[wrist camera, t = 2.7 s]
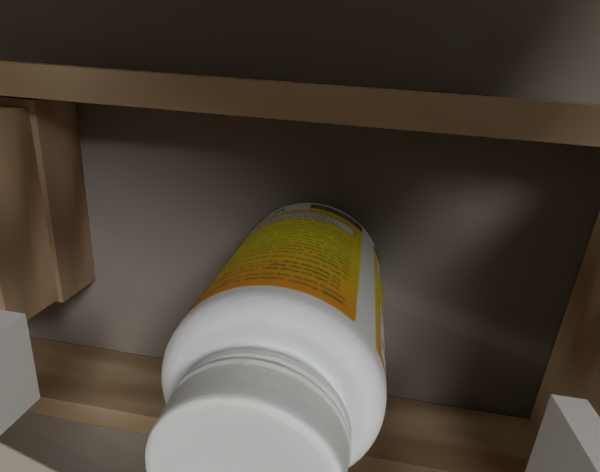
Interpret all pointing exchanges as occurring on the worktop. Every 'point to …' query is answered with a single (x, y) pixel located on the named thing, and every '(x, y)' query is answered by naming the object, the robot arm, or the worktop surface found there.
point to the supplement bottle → (279, 354)
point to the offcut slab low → (61, 190)
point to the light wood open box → (345, 111)
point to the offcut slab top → (22, 220)
